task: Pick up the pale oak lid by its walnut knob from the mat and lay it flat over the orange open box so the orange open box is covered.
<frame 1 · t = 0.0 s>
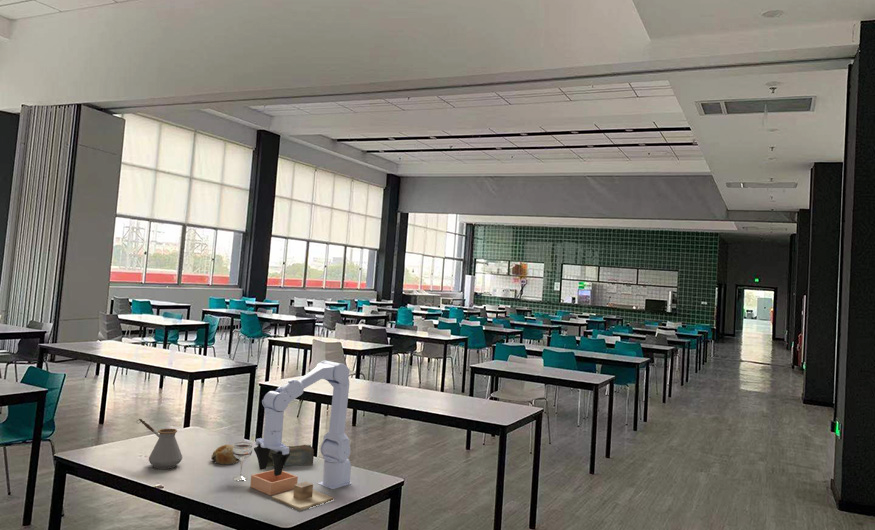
hand: (270, 472, 203), 10 cm above the table, tool pointing down, fingers open, 7 cm apart
wineglass: (240, 479, 225), on the table
beverage carton: (287, 464, 246), on the table
mat: (302, 500, 207), on the table
orange open box: (273, 489, 216), on the table
bread roll: (225, 461, 244), on the table
lid: (302, 499, 207), resting on mat
coffee pot: (155, 463, 235), on the table
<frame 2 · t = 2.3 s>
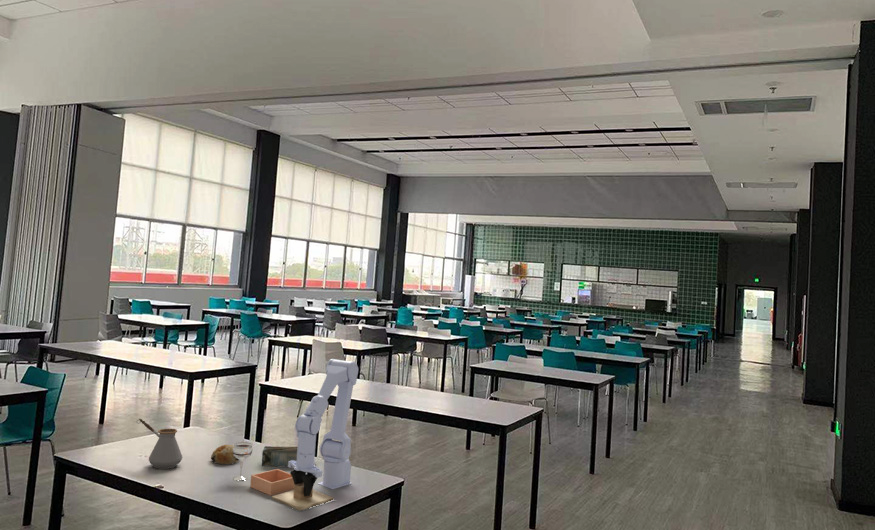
hand: (303, 494, 207), 2 cm above the table, tool pointing down, fingers closed on lid, 3 cm apart
lid: (302, 499, 207), resting on mat, touching gripper
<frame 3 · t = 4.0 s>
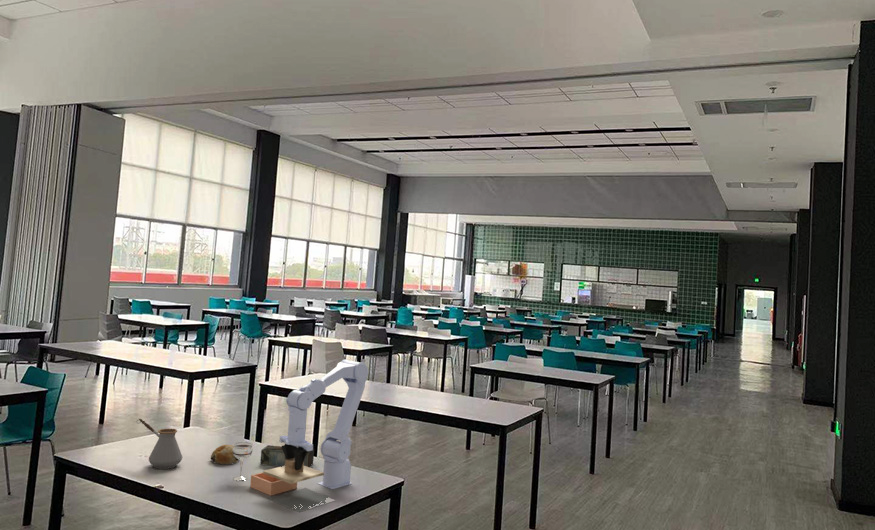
hand: (294, 468, 211), 9 cm above the table, tool pointing down, fingers closed on lid, 3 cm apart
lid: (293, 474, 210), point 7 cm above the table, touching gripper
when the fingers open (8 cm above the table, at t = 5.7 s): lid stays where it is, resting on orange open box.
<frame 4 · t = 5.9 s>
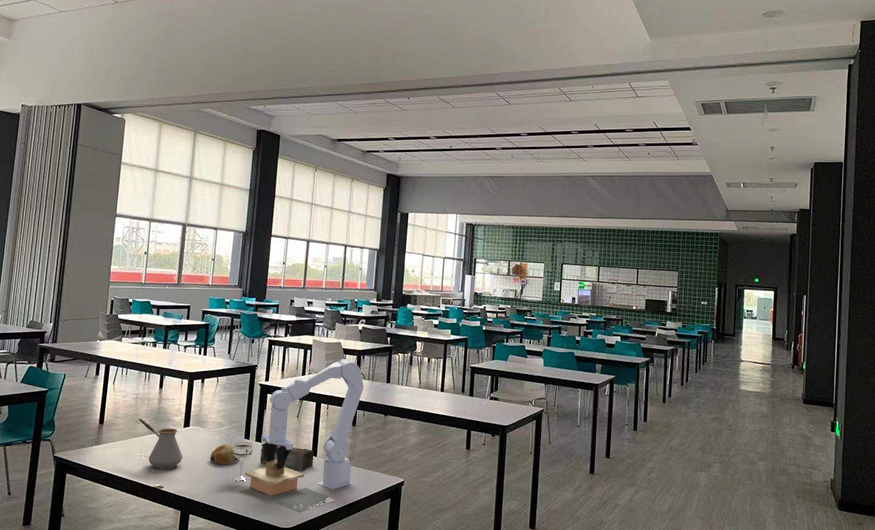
hand: (275, 466, 216), 8 cm above the table, tool pointing down, fingers open, 5 cm apart
orange open box: (273, 489, 216), on the table, touching lid
lid: (274, 475, 216), point 4 cm above the table, touching orange open box
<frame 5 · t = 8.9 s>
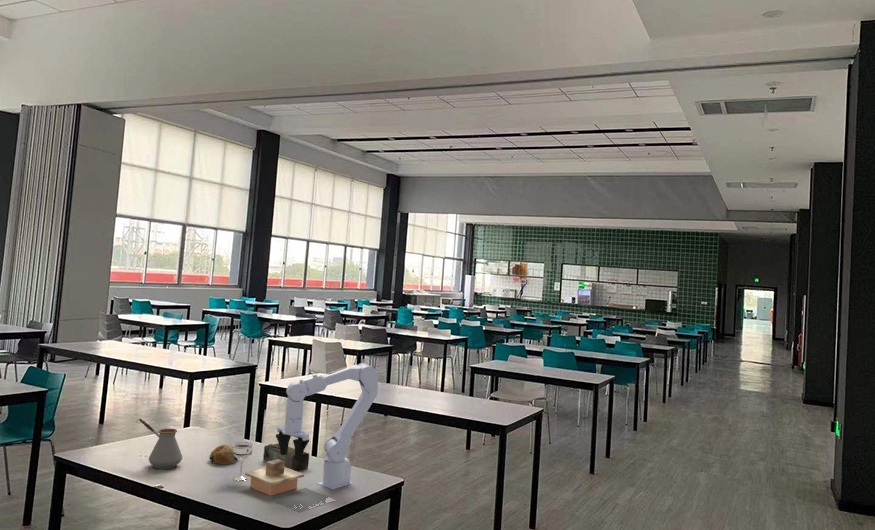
hand: (290, 457, 219), 10 cm above the table, tool pointing down, fingers open, 7 cm apart
at the end: lid 0.0 cm off-centre on the orange open box, point 4.5 cm above the orange open box's base; lid tilted 0°; the gripper is holding nothing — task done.
